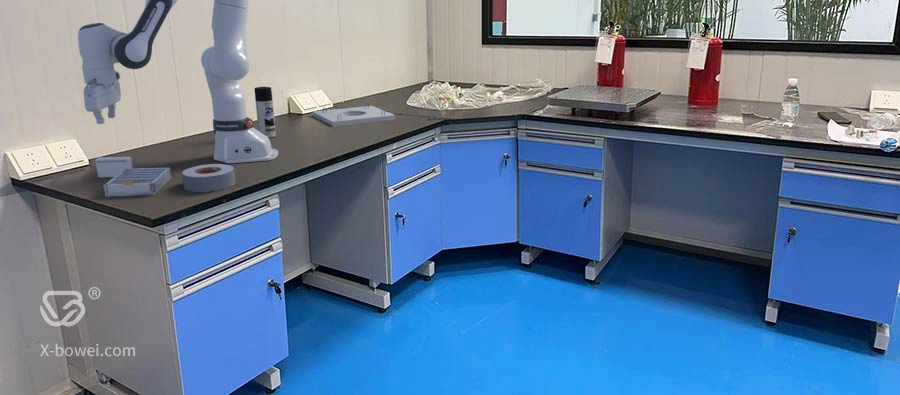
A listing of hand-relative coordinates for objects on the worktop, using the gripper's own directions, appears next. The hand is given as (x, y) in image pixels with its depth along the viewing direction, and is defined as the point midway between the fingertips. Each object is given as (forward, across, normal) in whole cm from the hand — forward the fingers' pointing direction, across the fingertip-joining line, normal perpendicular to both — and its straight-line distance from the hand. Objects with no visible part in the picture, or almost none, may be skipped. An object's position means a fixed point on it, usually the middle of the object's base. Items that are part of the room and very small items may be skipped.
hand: (106, 120), depth 212 cm
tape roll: (+19, -14, -33) cm, 41 cm away
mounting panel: (+18, +87, -75) cm, 117 cm away
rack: (+18, -14, -12) cm, 26 cm away
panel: (+18, 0, 0) cm, 18 cm away
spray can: (+18, +52, -41) cm, 69 cm away
